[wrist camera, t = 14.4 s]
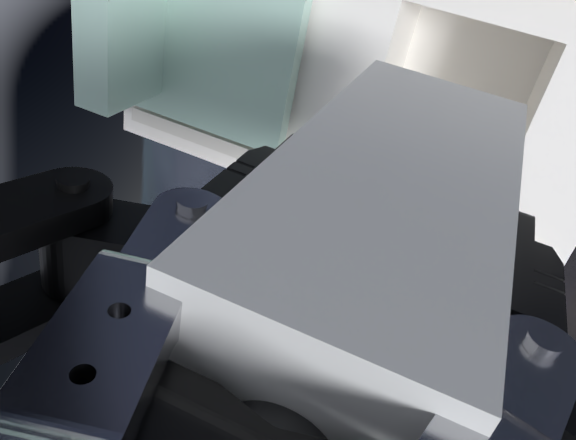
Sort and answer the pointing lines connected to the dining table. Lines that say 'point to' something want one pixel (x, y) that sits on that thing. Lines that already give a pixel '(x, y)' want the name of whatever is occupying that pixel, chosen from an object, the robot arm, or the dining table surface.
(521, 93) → the socket
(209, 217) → the plug
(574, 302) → the dining table surface
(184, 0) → the mint green l-shaped block
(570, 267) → the dining table surface
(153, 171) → the dining table surface
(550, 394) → the robot arm
